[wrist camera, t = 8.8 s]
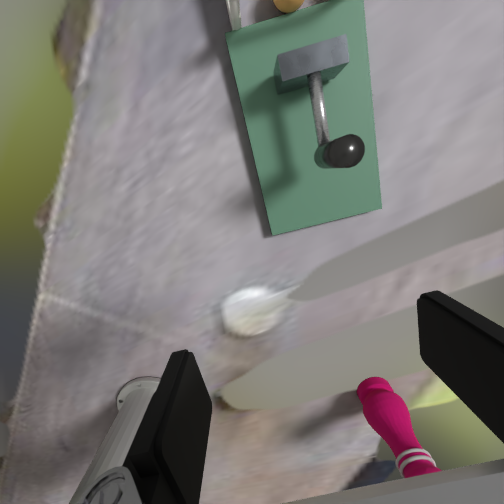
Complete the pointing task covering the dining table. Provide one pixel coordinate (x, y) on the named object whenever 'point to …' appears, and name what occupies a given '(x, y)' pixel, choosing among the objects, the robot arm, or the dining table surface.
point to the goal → (234, 13)
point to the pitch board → (307, 117)
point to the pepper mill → (394, 426)
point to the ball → (288, 5)
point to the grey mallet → (320, 96)
